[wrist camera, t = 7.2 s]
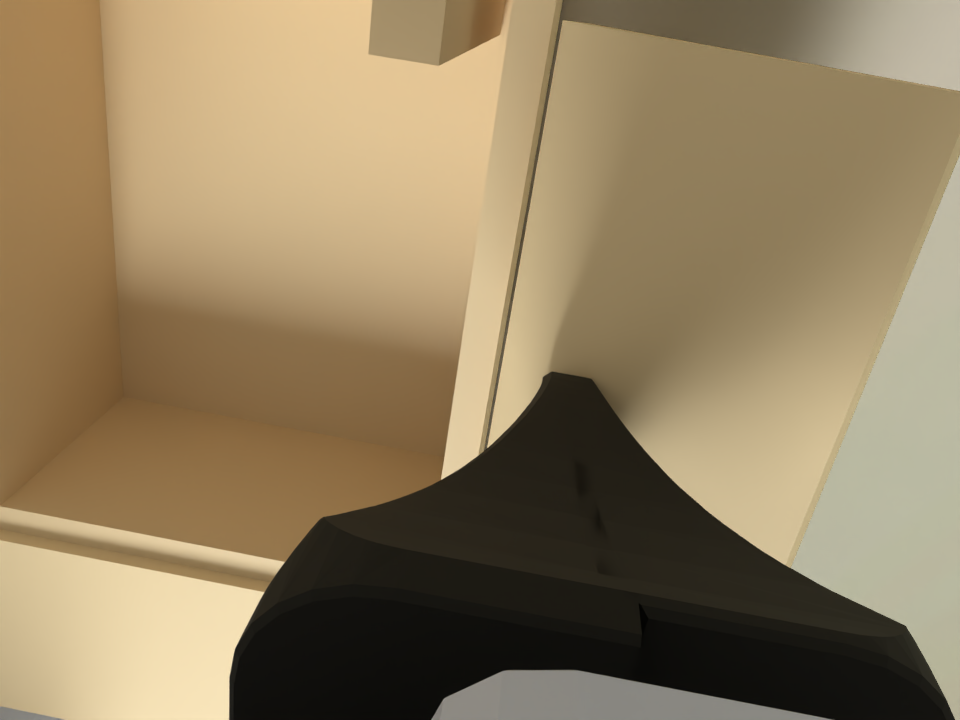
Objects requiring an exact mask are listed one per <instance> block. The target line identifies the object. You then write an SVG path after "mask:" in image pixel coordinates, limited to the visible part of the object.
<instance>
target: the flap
mask: <svg viewBox="0 0 960 720" xmlns="http://www.w3.org/2000/svg"><path fill="white" fill-rule="evenodd" d="M959 155H960V91H956V90H950V89H945V88H939V87H934V86H928V85H923V84H918V83H912V82H907V81H901V80H896V79H890V78H885V77H879V76H874V75H868V74H863V73H857V72H852V71H847V70H841V69H836V68H830V67H825V66H819V65H814V64H808V63H803V62H797V61H792V60H786V59H781V58H776V57H770V56H765V55H759V54H754V53H748V52H743V51H737V50H732V49H726V48H721V47H716V46H710V45H705V44H699V43H694V42H688V41H683V40H677V39H672V38H666V37H661V36H655V35H650V34H645V33H639V32H634V31H628V30H623V29H617V28H612V27H606V26H601V25H595V24H590V23H583V22H575V21H566V20H563V21H562V27H561V33H560V38H559V44H558V50H557V55H556V61H555V67H554V72H553V78H552V84H551V89H550V95H549V101H548V106H547V112H546V118H545V123H544V129H543V135H542V140H541V146H540V152H539V157H538V163H537V169H536V174H535V180H534V186H533V191H532V197H531V203H530V208H529V214H528V220H527V225H526V231H525V236H524V242H523V248H522V253H521V259H520V265H519V270H518V276H517V282H516V287H515V293H514V299H513V304H512V310H511V316H510V321H509V327H508V333H507V338H506V344H505V350H504V355H503V361H502V367H501V372H500V378H499V384H498V389H497V395H496V401H495V406H494V412H493V418H492V423H491V429H490V434H489V440H488V446H487V448H488V447H489V446H490V445H492V444H493V443H494V442H495V441H496V440H497V439H498V438H499V437H500V436H501V435H502V434H503V433H504V432H505V431H506V430H507V429H508V428H509V427H510V426H511V425H512V424H513V423H514V422H515V421H516V420H517V418H518V417H519V416H520V415H521V413H522V412H523V411H524V410H525V409H526V407H527V406H528V405H529V404H530V402H531V401H532V399H533V398H534V396H535V395H536V393H537V392H538V390H539V388H540V386H541V384H542V379H543V376H545V375H547V374H548V373H550V372H551V371H553V372H558V373H564V374H569V375H575V376H581V377H586V378H591V379H592V380H593V381H594V383H595V384H596V386H597V387H598V389H599V390H600V391H601V393H602V394H603V396H604V397H605V399H606V400H607V402H608V403H609V405H610V406H611V407H612V409H613V410H614V412H615V413H616V415H617V416H618V417H619V419H620V420H621V421H622V423H623V424H624V425H625V427H626V428H627V429H628V430H629V432H630V433H631V434H632V436H633V437H634V438H635V439H636V441H637V442H638V443H639V444H640V445H641V446H642V448H643V449H644V450H645V451H646V452H647V453H648V455H649V456H650V457H651V458H652V459H653V460H654V461H655V462H656V463H657V464H658V465H659V466H660V468H661V469H662V470H663V471H664V472H665V473H666V474H667V475H668V476H669V477H670V478H671V479H672V480H673V481H674V482H675V483H676V484H677V485H678V486H679V487H680V488H681V489H683V490H684V491H685V492H686V493H687V494H688V495H689V496H691V497H692V498H693V499H694V500H695V501H696V502H697V503H699V504H700V505H701V506H702V507H703V508H704V509H705V510H707V511H708V512H709V513H710V514H712V515H713V516H714V517H715V518H717V519H718V520H719V521H721V522H722V523H723V524H724V525H726V526H727V527H729V528H730V529H732V530H733V531H734V532H736V533H737V534H739V535H740V536H741V537H743V538H744V539H746V540H747V541H748V542H750V543H751V544H753V545H754V546H756V547H757V548H759V549H760V550H762V551H763V552H765V553H766V554H768V555H770V556H771V557H773V558H774V559H776V560H778V561H779V562H781V563H782V564H784V565H786V566H788V567H789V568H791V566H792V563H793V561H794V558H795V556H796V554H797V551H798V549H799V546H800V544H801V541H802V539H803V536H804V534H805V531H806V529H807V527H808V524H809V522H810V519H811V517H812V514H813V512H814V509H815V507H816V505H817V502H818V500H819V497H820V495H821V492H822V490H823V487H824V485H825V483H826V480H827V478H828V475H829V473H830V470H831V468H832V465H833V463H834V461H835V458H836V456H837V453H838V451H839V448H840V446H841V443H842V441H843V439H844V436H845V434H846V431H847V429H848V426H849V424H850V421H851V419H852V417H853V414H854V412H855V409H856V407H857V404H858V402H859V399H860V397H861V395H862V392H863V390H864V387H865V385H866V382H867V380H868V377H869V375H870V373H871V370H872V368H873V365H874V363H875V360H876V358H877V355H878V353H879V351H880V348H881V346H882V343H883V341H884V338H885V336H886V333H887V331H888V329H889V326H890V324H891V321H892V319H893V316H894V314H895V311H896V309H897V307H898V304H899V302H900V299H901V297H902V294H903V292H904V289H905V287H906V285H907V282H908V280H909V277H910V275H911V272H912V270H913V267H914V265H915V263H916V260H917V258H918V255H919V253H920V250H921V248H922V245H923V243H924V241H925V238H926V236H927V233H928V231H929V228H930V226H931V223H932V221H933V219H934V216H935V214H936V211H937V209H938V206H939V204H940V201H941V199H942V197H943V194H944V192H945V189H946V187H947V184H948V182H949V179H950V177H951V175H952V172H953V170H954V167H955V165H956V162H957V160H958V157H959Z"/></svg>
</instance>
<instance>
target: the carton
mask: <svg viewBox="0 0 960 720" xmlns="http://www.w3.org/2000/svg"><path fill="white" fill-rule="evenodd" d="M562 2H563V0H0V706H2V707H6V708H11V709H16V710H21V711H26V712H31V713H36V714H40V715H45V716H50V717H55V718H60V719H65V720H229V677H230V672H231V666H232V661H233V656H234V651H235V648H236V646H237V644H238V642H239V640H240V638H241V636H242V634H243V632H244V630H245V628H246V626H247V624H248V622H249V620H250V618H251V617H252V615H253V613H254V611H255V609H256V607H257V605H258V603H259V601H260V599H261V597H262V596H263V594H264V592H265V590H266V589H267V587H268V585H269V584H270V583H271V581H272V580H273V578H274V577H275V575H276V574H277V572H278V571H279V569H280V568H281V567H282V565H283V564H284V563H285V562H286V560H287V559H288V557H289V556H290V555H291V553H292V552H293V551H294V549H295V548H296V547H297V546H298V544H299V543H300V542H301V541H302V539H303V538H304V537H305V536H306V535H307V533H308V532H309V531H310V530H311V529H312V527H313V526H314V525H315V524H316V523H317V522H318V520H320V519H321V518H322V517H326V516H332V515H337V514H341V513H346V512H350V511H354V510H359V509H363V508H367V507H372V506H376V505H379V504H382V503H386V502H389V501H392V500H395V499H398V498H401V497H403V496H406V495H409V494H412V493H414V492H416V491H419V490H421V489H424V488H426V487H428V486H430V485H433V484H434V483H436V482H438V481H440V480H442V479H444V478H445V477H447V476H449V475H450V474H452V473H454V472H455V471H457V470H459V469H460V468H462V467H463V466H465V465H466V464H467V463H469V462H470V461H472V460H473V459H474V458H476V457H477V456H478V455H480V454H481V453H482V452H483V451H484V448H485V442H486V437H487V431H488V425H489V419H490V414H491V408H492V402H493V397H494V391H495V385H496V379H497V374H498V368H499V362H500V357H501V351H502V345H503V339H504V334H505V328H506V322H507V317H508V311H509V305H510V299H511V294H512V288H513V282H514V277H515V271H516V265H517V259H518V254H519V248H520V242H521V237H522V231H523V225H524V219H525V214H526V208H527V202H528V197H529V191H530V185H531V179H532V174H533V168H534V162H535V157H536V151H537V145H538V139H539V134H540V128H541V122H542V117H543V111H544V105H545V99H546V94H547V88H548V82H549V77H550V71H551V65H552V59H553V54H554V48H555V42H556V37H557V31H558V25H559V19H560V14H561V8H562Z"/></svg>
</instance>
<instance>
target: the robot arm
mask: <svg viewBox="0 0 960 720" xmlns="http://www.w3.org/2000/svg"><path fill="white" fill-rule="evenodd" d="M0 720H65V719H60V718H55V717H50V716H45V715H40V714H36V713H31V712H26V711H21V710H16V709H11V708H6V707H2V706H0ZM229 720H955V719H954V716H953V714H952V712H951V710H950V707H949V705H948V703H947V700H946V698H945V697H944V695H943V693H942V691H941V689H940V687H939V685H938V683H937V681H936V679H935V677H934V675H933V673H932V671H931V669H930V667H929V665H928V664H927V662H926V660H925V658H924V656H923V655H922V653H921V651H920V649H919V648H918V646H917V644H916V642H915V640H914V639H913V637H912V635H911V634H910V632H909V631H908V629H907V627H906V626H905V625H903V624H900V623H898V622H896V621H894V620H892V619H890V618H888V617H886V616H883V615H881V614H879V613H877V612H875V611H873V610H871V609H869V608H867V607H864V606H862V605H860V604H858V603H856V602H854V601H852V600H850V599H847V598H845V597H843V596H841V595H839V594H837V593H835V592H833V591H831V590H829V589H827V588H825V587H823V586H821V585H819V584H817V583H816V582H814V581H812V580H810V579H809V578H807V577H805V576H803V575H802V574H800V573H798V572H796V571H795V570H793V569H791V568H789V567H788V566H786V565H784V564H782V563H781V562H779V561H778V560H776V559H774V558H773V557H771V556H770V555H768V554H766V553H765V552H763V551H762V550H760V549H759V548H757V547H756V546H754V545H753V544H751V543H750V542H748V541H747V540H746V539H744V538H743V537H741V536H740V535H739V534H737V533H736V532H734V531H733V530H732V529H730V528H729V527H727V526H726V525H724V524H723V523H722V522H721V521H719V520H718V519H717V518H715V517H714V516H713V515H712V514H710V513H709V512H708V511H707V510H705V509H704V508H703V507H702V506H701V505H700V504H699V503H697V502H696V501H695V500H694V499H693V498H692V497H691V496H689V495H688V494H687V493H686V492H685V491H684V490H683V489H681V488H680V487H679V486H678V485H677V484H676V483H675V482H674V481H673V480H672V479H671V478H670V477H669V476H668V475H667V474H666V473H665V472H664V471H663V470H662V469H661V468H660V466H659V465H658V464H657V463H656V462H655V461H654V460H653V459H652V458H651V457H650V456H649V455H648V453H647V452H646V451H645V450H644V449H643V448H642V446H641V445H640V444H639V443H638V442H637V441H636V439H635V438H634V437H633V436H632V434H631V433H630V432H629V430H628V429H627V428H626V427H625V425H624V424H623V423H622V421H621V420H620V419H619V417H618V416H617V415H616V413H615V412H614V410H613V409H612V407H611V406H610V405H609V403H608V402H607V400H606V399H605V397H604V396H603V394H602V393H601V391H600V390H599V389H598V387H597V386H596V384H595V383H594V381H593V380H592V379H591V378H586V377H581V376H575V375H569V374H564V373H558V372H553V371H551V372H550V373H548V374H547V375H545V376H543V379H542V384H541V386H540V388H539V390H538V392H537V393H536V395H535V396H534V398H533V399H532V401H531V402H530V404H529V405H528V406H527V407H526V409H525V410H524V411H523V412H522V413H521V415H520V416H519V417H518V418H517V420H516V421H515V422H514V423H513V424H512V425H511V426H510V427H509V428H508V429H507V430H506V431H505V432H504V433H503V434H502V435H501V436H500V437H499V438H498V439H497V440H496V441H495V442H494V443H493V444H492V445H490V446H489V447H488V448H487V449H486V450H484V451H483V452H482V453H481V454H480V455H478V456H477V457H476V458H474V459H473V460H472V461H470V462H469V463H467V464H466V465H465V466H463V467H462V468H460V469H459V470H457V471H455V472H454V473H452V474H450V475H449V476H447V477H445V478H444V479H442V480H440V481H438V482H436V483H434V484H433V485H430V486H428V487H426V488H424V489H421V490H419V491H416V492H414V493H412V494H409V495H406V496H403V497H401V498H398V499H395V500H392V501H389V502H386V503H382V504H379V505H376V506H372V507H367V508H363V509H359V510H354V511H350V512H346V513H341V514H337V515H332V516H326V517H322V518H321V519H320V520H318V522H317V523H316V524H315V525H314V526H313V527H312V529H311V530H310V531H309V532H308V533H307V535H306V536H305V537H304V538H303V539H302V541H301V542H300V543H299V544H298V546H297V547H296V548H295V549H294V551H293V552H292V553H291V555H290V556H289V557H288V559H287V560H286V562H285V563H284V564H283V565H282V567H281V568H280V569H279V571H278V572H277V574H276V575H275V577H274V578H273V580H272V581H271V583H270V584H269V585H268V587H267V589H266V590H265V592H264V594H263V596H262V597H261V599H260V601H259V603H258V605H257V607H256V609H255V611H254V613H253V615H252V617H251V618H250V620H249V622H248V624H247V626H246V628H245V630H244V632H243V634H242V636H241V638H240V640H239V642H238V644H237V646H236V648H235V651H234V656H233V661H232V666H231V672H230V677H229Z"/></svg>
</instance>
